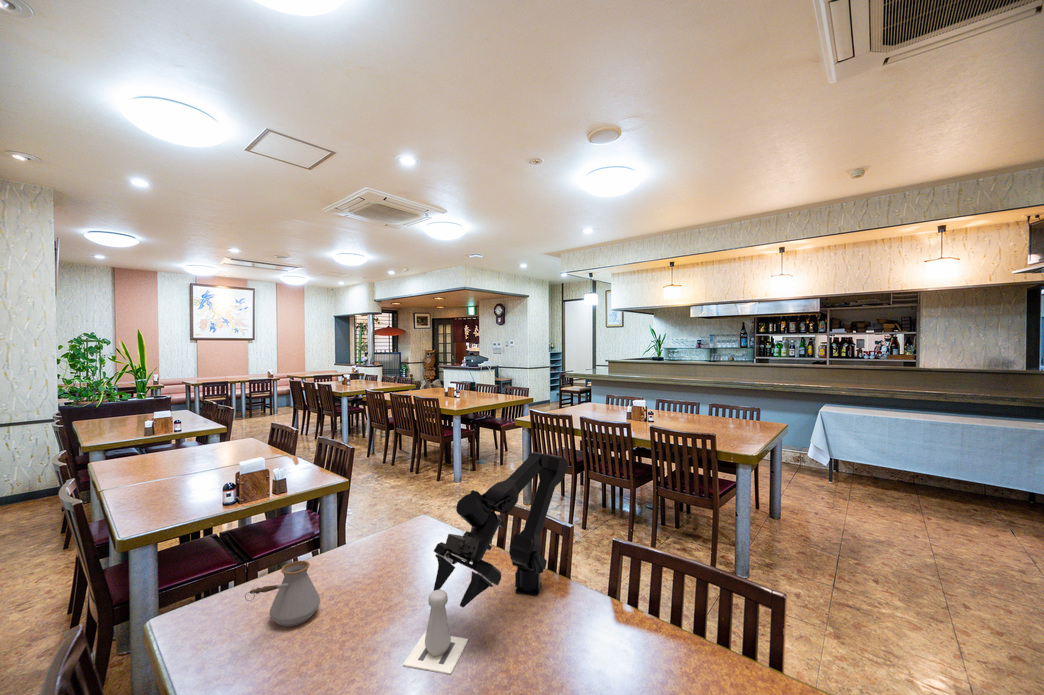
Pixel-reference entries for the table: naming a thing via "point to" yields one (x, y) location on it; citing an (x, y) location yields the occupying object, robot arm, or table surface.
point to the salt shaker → (437, 625)
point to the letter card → (436, 664)
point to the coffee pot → (292, 595)
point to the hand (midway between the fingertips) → (447, 599)
